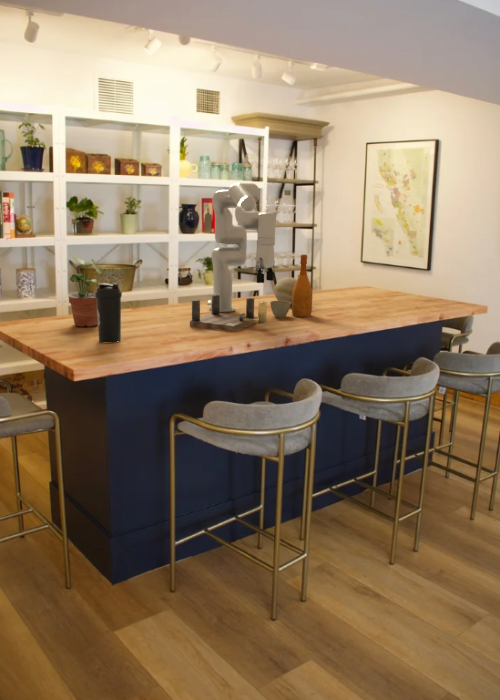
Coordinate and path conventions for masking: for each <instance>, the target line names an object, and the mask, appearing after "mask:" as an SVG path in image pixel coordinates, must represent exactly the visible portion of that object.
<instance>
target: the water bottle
mask: <svg viewBox="0 0 500 700" xmlns="http://www.w3.org/2000/svg"><path fill="white" fill-rule="evenodd" d="M119 285H120V284H119V283H117V282H115V283H113V284H112V283H106V282H99V283H98V285H97V286H98V287H97V288H96V290H95V291H94V293H95V297H96V302H97V319H98V324H97V329H98V330H97V331H98V341H100V343H102V342H116V343H118V342H117V341H120V340H121V339H122V335H121V333H122V332H121V331H122V327H121V325H122V320H121V319H122V318H121V317H122V314H121V313H122V312H121V311H122V309H121V308H122V305H121V303H122V293H123V292H122V291H121V289H120V287H119ZM120 342H121V341H120Z"/></svg>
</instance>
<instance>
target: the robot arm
mask: <svg viewBox="0 0 500 700" xmlns="http://www.w3.org/2000/svg"><path fill="white" fill-rule="evenodd" d="M260 194H261V192H260V188H259V186H258V185H257V184H256V183H252V182H250V183H249V182H234V183H233V184H231V185H230V186H229V187H228V189H220V190H217V191H215V192H214V193H213V196H212V208H213V211H214V239H215V242H216V244H218V245H226V246H227V245H234V246H235V247H234V246H233V247H232V246H230V247H229V246H227V247H226V246H225V247H222V246H221V247H216V248H214V249H213V250H212V252H211V263H212V271H213V273H212V277H213V278H212V279H213V282H212V289H213V291H212V292H213V294H212V295H220V313H230V312H234V311H235V310H236V307H234V306H233V273H232V272H231V271H230V269H229V267H230V268H231V267H241V266H242V267H243V266H244V265H245V264H246V261H247V250H248V249H247V248H248V247H247V246H248V245H247V241H248V240H247V239H248V236H247V230H257V241H256V243H257V244H256V245H257V247H256V253H255V268H256V282H257V283H259V284H264V283H265V278H266V281H274V275H275V274H274V272H275V264H276V263H275V262H276V261H275V246H276V245H275V243H276V214H275V213H274V212H268V211H257V210H256V211H255V210H254V208H255V207H256V203H257V202H258V200H259V199H260ZM230 209H234V217H235V220H236V222H237V223H238V224H233V213H232V212H231V210H230ZM253 210H254V211H253ZM265 270H266V276H265ZM206 305H208V306H210V307H209V310H210V311H211V312H212V300H207V302H206Z"/></svg>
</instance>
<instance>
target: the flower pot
mask: <svg viewBox="0 0 500 700" xmlns="http://www.w3.org/2000/svg"><path fill="white" fill-rule="evenodd" d="M291 306H292V305H291V302H288V301H278V300H272V301H270V309H271V312H272V314H273V316H274V317H275V318H286V316H287V315H288V313H289V311H290V308H291Z"/></svg>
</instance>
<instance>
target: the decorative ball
mask: <svg viewBox="0 0 500 700" xmlns="http://www.w3.org/2000/svg"><path fill="white" fill-rule="evenodd" d="M296 281H297V279H296V278H294V277H291V276H286V277H282V278H281V279H279V280H278V281H277V282H276V284H275V287H274V292H273V293H274V296H275V298H276V301H288V302H291V305H290V306H292V293H293V289H294V286H295V283H296Z"/></svg>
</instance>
